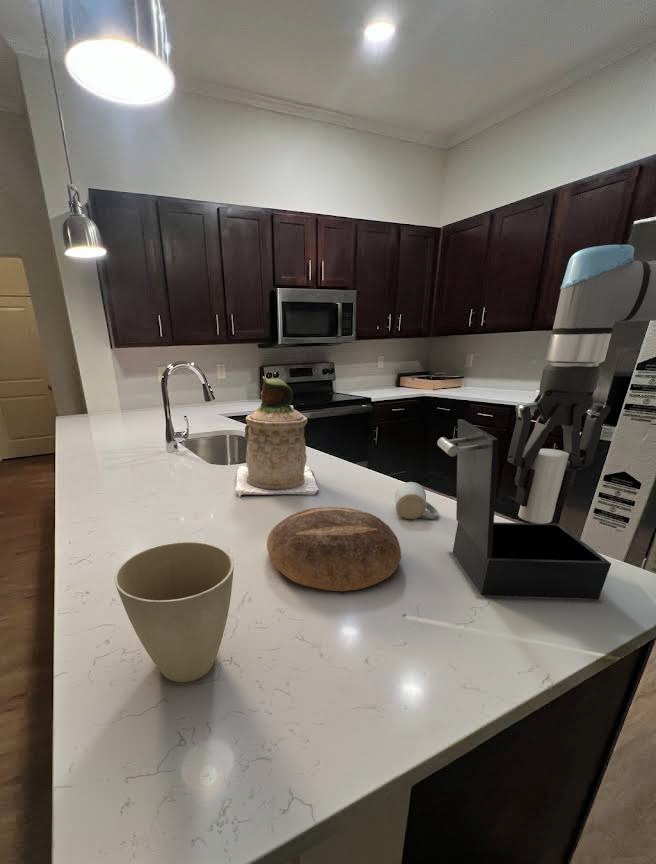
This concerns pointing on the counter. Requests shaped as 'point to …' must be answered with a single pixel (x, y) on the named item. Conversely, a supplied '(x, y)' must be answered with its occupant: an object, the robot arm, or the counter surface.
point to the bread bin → (533, 562)
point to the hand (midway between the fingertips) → (538, 503)
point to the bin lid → (475, 482)
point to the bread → (334, 548)
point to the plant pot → (178, 604)
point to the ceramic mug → (413, 502)
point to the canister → (545, 486)
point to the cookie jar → (275, 447)
